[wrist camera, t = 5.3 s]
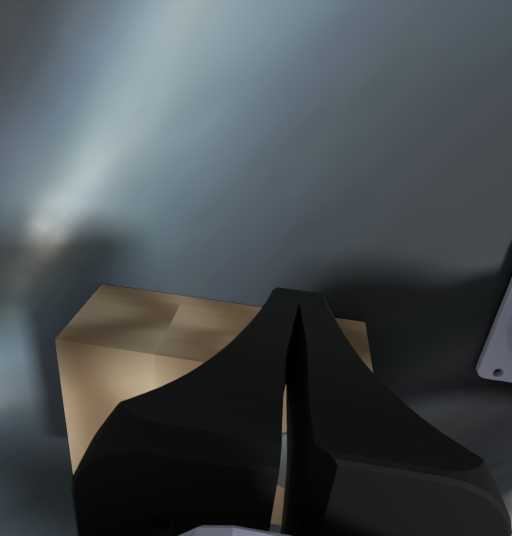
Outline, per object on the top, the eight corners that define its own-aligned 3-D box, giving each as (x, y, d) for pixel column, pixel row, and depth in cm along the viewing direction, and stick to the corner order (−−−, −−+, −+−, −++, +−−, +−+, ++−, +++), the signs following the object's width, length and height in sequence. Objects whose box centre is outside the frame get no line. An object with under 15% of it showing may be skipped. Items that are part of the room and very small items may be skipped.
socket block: (365, 322, 24) (376, 391, 19) (332, 456, 29) (334, 538, 24) (101, 283, 25) (52, 342, 20) (111, 420, 29) (73, 492, 25)
